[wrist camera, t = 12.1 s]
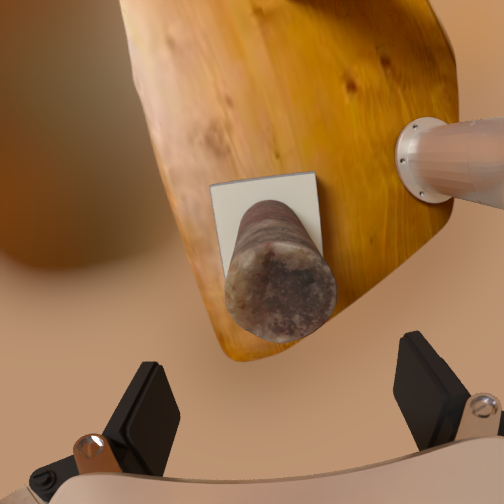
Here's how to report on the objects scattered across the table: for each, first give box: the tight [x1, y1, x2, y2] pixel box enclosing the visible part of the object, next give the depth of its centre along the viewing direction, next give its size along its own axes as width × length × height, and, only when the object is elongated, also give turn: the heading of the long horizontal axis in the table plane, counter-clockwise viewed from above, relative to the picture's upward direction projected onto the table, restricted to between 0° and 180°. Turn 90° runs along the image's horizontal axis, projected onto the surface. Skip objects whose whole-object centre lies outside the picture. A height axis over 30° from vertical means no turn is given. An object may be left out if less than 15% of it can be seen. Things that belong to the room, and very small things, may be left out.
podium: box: [209, 171, 324, 282], centre depth 40 cm, size 13×13×4 cm
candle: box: [224, 200, 337, 343], centre depth 28 cm, size 8×7×20 cm
